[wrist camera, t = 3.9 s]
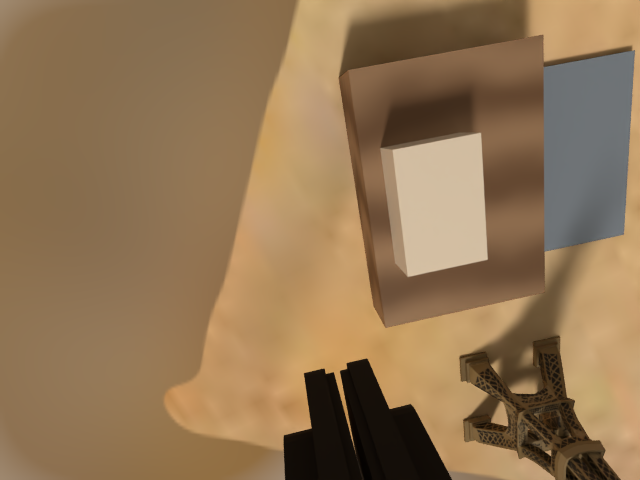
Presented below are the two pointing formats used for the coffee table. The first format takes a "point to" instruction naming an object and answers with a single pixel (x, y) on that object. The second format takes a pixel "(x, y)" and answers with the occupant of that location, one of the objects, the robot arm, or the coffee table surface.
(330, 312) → the coffee table surface
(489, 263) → the deck
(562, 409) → the eiffel tower
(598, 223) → the mat
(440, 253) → the beige rectangular block
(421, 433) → the robot arm
